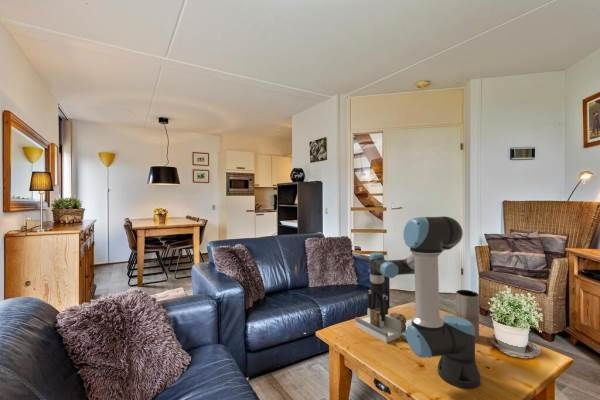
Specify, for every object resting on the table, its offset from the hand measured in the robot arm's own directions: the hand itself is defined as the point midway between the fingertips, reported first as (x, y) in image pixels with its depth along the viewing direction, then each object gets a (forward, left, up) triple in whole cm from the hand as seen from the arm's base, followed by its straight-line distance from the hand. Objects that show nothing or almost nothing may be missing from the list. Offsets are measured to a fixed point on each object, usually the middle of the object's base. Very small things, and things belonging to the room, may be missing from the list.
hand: (377, 324), depth 155 cm
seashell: (-3, -12, -4) cm, 13 cm away
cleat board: (0, 0, -4) cm, 4 cm away
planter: (-30, -34, -4) cm, 45 cm away
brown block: (0, 0, 0) cm, 0 cm away
